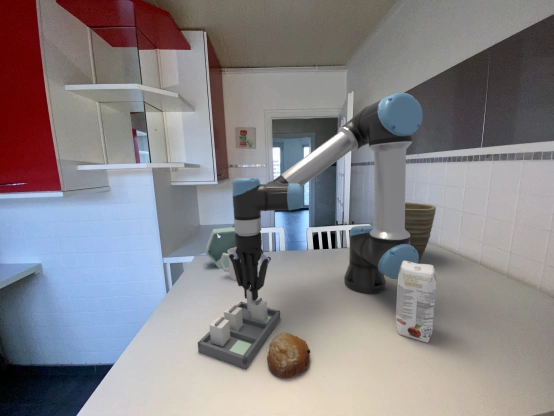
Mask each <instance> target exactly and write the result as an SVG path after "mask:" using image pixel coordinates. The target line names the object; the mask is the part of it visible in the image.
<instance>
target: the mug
mask: <svg viewBox="0 0 554 416" xmlns="http://www.w3.org/2000/svg"><path fill="white" fill-rule="evenodd" d="M234 252H236V248H231V249H229V250H228V254H226V253H223V255H222V257H221V266H222V268H221V269H222V270H223V272H225V273H227V272H228V273H229V278H230V279H231V280H234V281H237V279H236V275H235V271H234V268H233V264H232V261H231V260H230V258H229V255H230V254H232V253H234ZM225 257H228V259H229V267H225V266H224V264H223V259H224V258H225ZM240 261H241V260H240Z"/></svg>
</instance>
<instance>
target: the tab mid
mask: <svg viewBox="0 0 554 416" xmlns="http://www.w3.org/2000/svg"><path fill="white" fill-rule="evenodd" d="M237 305H238V304H234V305H230V306H229V307H228V308H227V309H225V310H224V312H223V317H224V319H226V320H229V324H230V329H232V330H236V331H237V330H238V329H239V328H240V327H241V325H242V324H243V321H242V308H240V307H237Z"/></svg>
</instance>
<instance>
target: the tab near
mask: <svg viewBox="0 0 554 416" xmlns="http://www.w3.org/2000/svg"><path fill="white" fill-rule="evenodd" d="M209 331H210V337H211V343H213V344H216V345H219V346H222V347H223V346H224V344H225V343H226V342H227V341H228V340H229V339H230V324H229V320H226V319H224V316H221V317H219V316H218V317H216V319H214V320H213V321H212V322H211V323H210V324H209Z"/></svg>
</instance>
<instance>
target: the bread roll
mask: <svg viewBox="0 0 554 416" xmlns="http://www.w3.org/2000/svg"><path fill="white" fill-rule="evenodd" d="M310 354H311V349H310V347H309V345H308V344H307V342H306V340H304V339H302V338H301V337H298V336H297V335H295V334H292V333H288V332H280V333H278V334H277V335H275V337H273V339H272V340H271V342H270V343H269V346H268V351H267V357H266V361H267V367H269V369H270V372H271V373H272V374H274V375H275V376H277V377H279V378H282V379H283V378H284V379H290V378H293V377H296V376H298V375H301V374H303V373H304V371H305V370H306V369H307V367H308V366H309V364H310V361H311V360H310V359H311V357H310Z"/></svg>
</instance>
